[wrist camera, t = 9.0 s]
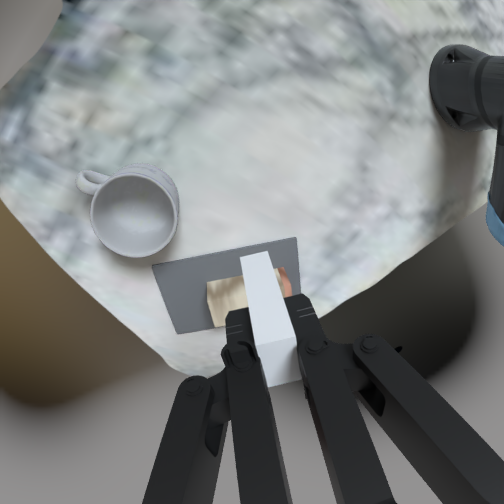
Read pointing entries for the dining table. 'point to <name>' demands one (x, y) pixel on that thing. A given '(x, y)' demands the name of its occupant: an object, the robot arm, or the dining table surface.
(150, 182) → the teacup
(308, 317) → the robot arm
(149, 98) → the dining table surface
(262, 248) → the mat
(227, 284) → the block
